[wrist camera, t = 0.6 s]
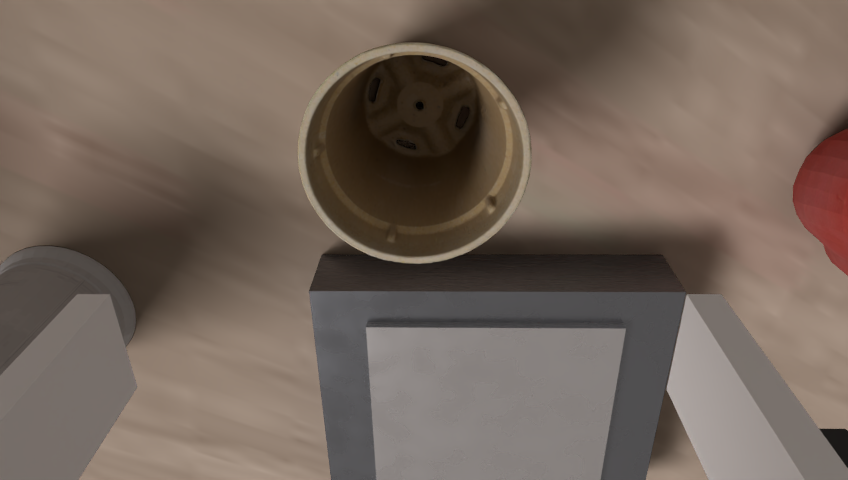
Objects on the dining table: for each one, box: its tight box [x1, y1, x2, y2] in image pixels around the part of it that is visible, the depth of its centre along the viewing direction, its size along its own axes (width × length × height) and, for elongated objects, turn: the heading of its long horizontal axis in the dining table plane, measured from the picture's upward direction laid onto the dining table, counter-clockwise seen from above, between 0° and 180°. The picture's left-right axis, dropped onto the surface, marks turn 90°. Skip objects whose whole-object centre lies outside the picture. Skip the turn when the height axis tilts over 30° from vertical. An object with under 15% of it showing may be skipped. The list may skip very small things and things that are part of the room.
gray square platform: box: [309, 255, 686, 480], centre depth 39 cm, size 20×18×4 cm
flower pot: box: [298, 42, 531, 264], centre depth 29 cm, size 9×9×9 cm
